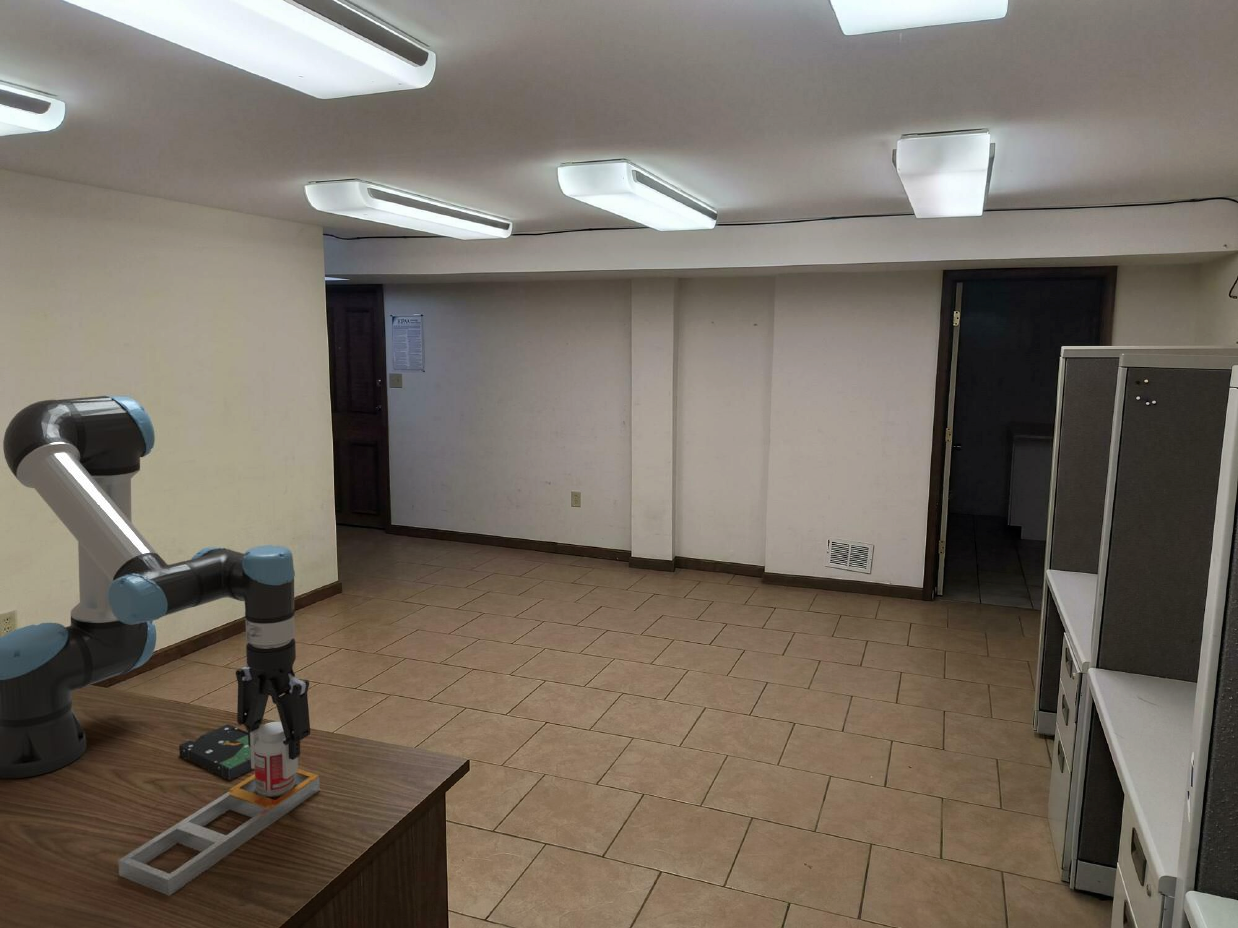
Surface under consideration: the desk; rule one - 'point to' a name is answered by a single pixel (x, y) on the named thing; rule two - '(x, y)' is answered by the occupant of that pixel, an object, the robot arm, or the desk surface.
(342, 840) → the desk surface
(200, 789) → the desk surface
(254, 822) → the socket rail
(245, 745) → the disk drive
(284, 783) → the pill bottle
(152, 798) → the desk surface
